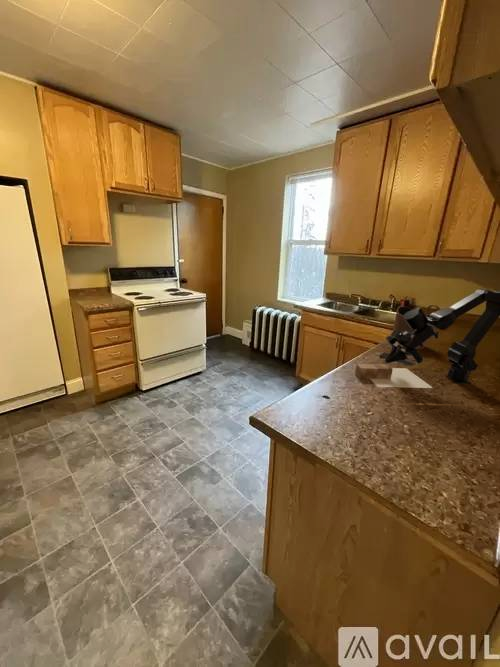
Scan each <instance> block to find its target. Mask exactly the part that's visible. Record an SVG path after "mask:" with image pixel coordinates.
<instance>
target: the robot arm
mask: <svg viewBox="0 0 500 667" xmlns="http://www.w3.org/2000/svg"><path fill="white" fill-rule="evenodd" d="M483 303H485V310H484V311H483V312H482V314H481V315H480V316H479V318H478V319H477V320H476V322H475V323H474V324H473V326H472V327H471V328H470V330H469V331H468V333H467V334H466V335H465V337H464V338H463V339H462V340H461V341H459V342H457V341H454V342H453V343H452V344H451V345H450V347H449V348H447V350H448V351H447V354H446V355H447V358H448V362H449V363H451V366H450V367H449V370H448V373H447V374H445V377H446V378H448V379H450V381H453V382H454V383H457V384H460V383H461V384H471V380H469V377H470V374H471V372H472V371H476V369H477V368H478V364H477V363H476V361H475V360H474V358H475V357H476V355H477V346H478V345H479V344H480V342H481V341H482V340H483V338H484V337H485V336H486V334H487V333H488V332H489V330H490V329H491V328H492V326H493V325H494V324H495V322H497V320H498V319H499V317H500V290H499V289H498V290H493V291H492V290H490V289H484V288H479V289H476V290H475V291H474V292H472V293H471V294H470V295H468V296H465V297H464V298H462V299H461V300H459V301H458V302H455V303H454V304H452V305H451V306H448V308H443V309H440V310H438V311H437V310H435V311H433V312H432V313H430V314H428V315H425V313H424V311H423V309H422V308H420V307H416V308H415V309H413V310H411V311H409V312H406V313H405V314H404V316H403V318H404V319H405V321H406V322H407V323H408V325H409V326H410V327H411V329H416V330H414V331H413V332H412V333H410V332H406V331H405V332H404V333H403V332H401V331H399V330H397V329H394V330H393V329H392V332H391V333H390V335H388V336H387V337H386V338H385V340H386V341H387V342H388V344H389V346H391V350H390V352H389V353H388V354H389V355H388V357H387V358H386V359H384V362H385V363H386V364H390V363H394V362H396V361H400V360H406V361H409V360H408V359H409V358H410V357H411V358H413V363H415V364H417V365H420V364H421V363H422V362H423V360H424V358H423V356H422V355H421V353H420V352H419V351H418V349H416V348H417V347H419V346H420V347H423V345H424V343H425V342H427V341H428V340H429V339H430V338H432V337H433V339H436V340H437V339H438V338H439V331H437V330H440V331H445V330H447V329H449V328H450V327H452V326H453V325H454V324H455V323H456V321H457V319H458V318H459V317H461V316H463V315H465V314H466V313H468V312H469V311H471V310H473V309H475V308H477V307H479V306H481V304H483ZM431 326H432V327H433V328H432V327H431ZM435 329H437V330H435ZM393 336H394V337H393Z"/></svg>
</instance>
